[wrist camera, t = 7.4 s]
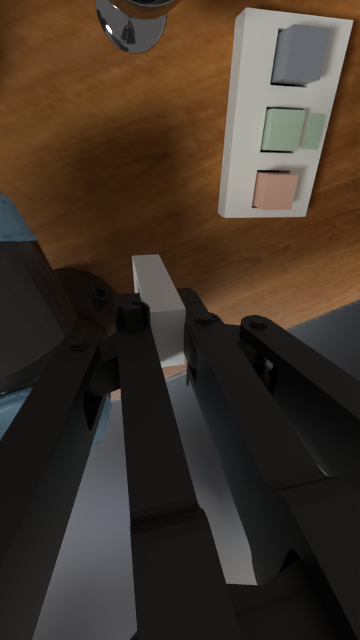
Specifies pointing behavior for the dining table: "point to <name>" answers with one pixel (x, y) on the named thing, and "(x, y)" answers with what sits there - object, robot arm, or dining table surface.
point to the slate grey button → (299, 54)
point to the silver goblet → (134, 22)
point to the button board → (258, 95)
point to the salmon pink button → (274, 190)
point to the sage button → (282, 129)
